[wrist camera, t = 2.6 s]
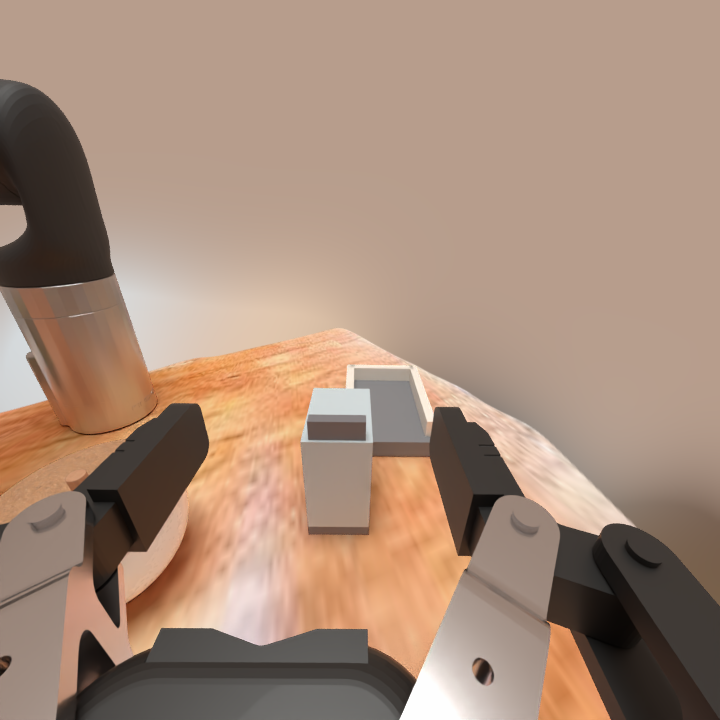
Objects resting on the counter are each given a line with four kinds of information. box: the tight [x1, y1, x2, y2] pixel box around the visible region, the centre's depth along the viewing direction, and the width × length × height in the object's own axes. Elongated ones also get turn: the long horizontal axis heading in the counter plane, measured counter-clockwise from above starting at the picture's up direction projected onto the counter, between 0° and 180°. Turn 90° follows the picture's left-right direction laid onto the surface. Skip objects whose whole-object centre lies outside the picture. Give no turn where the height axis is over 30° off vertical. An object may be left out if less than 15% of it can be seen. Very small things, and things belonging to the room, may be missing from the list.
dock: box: [354, 380, 430, 456], centre depth 39 cm, size 10×14×2 cm
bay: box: [346, 365, 434, 436], centre depth 39 cm, size 10×13×2 cm
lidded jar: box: [0, 439, 189, 603], centre depth 21 cm, size 11×11×9 cm
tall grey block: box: [301, 388, 373, 535], centre depth 26 cm, size 5×7×12 cm
